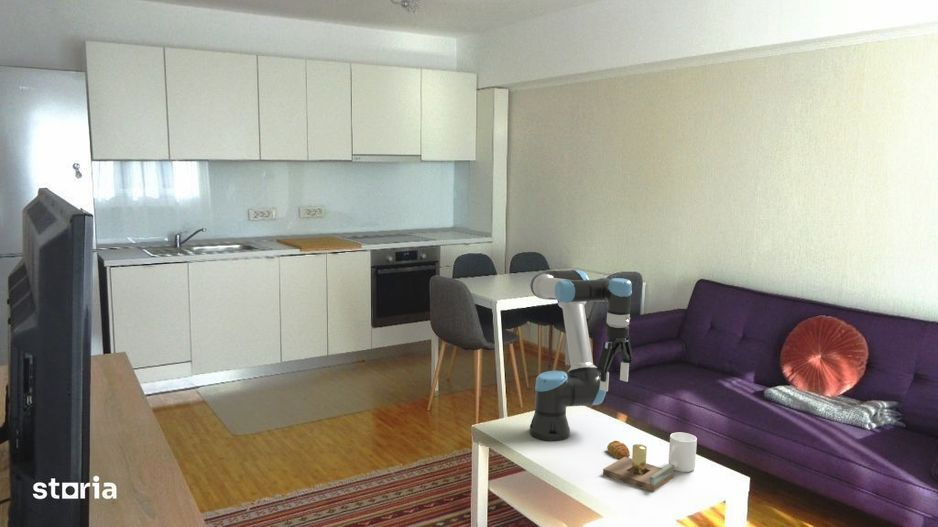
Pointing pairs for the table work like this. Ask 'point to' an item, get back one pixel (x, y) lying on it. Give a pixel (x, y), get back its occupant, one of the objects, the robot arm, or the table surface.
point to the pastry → (618, 449)
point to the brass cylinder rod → (639, 459)
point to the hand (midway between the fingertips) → (614, 385)
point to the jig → (648, 481)
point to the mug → (682, 451)
